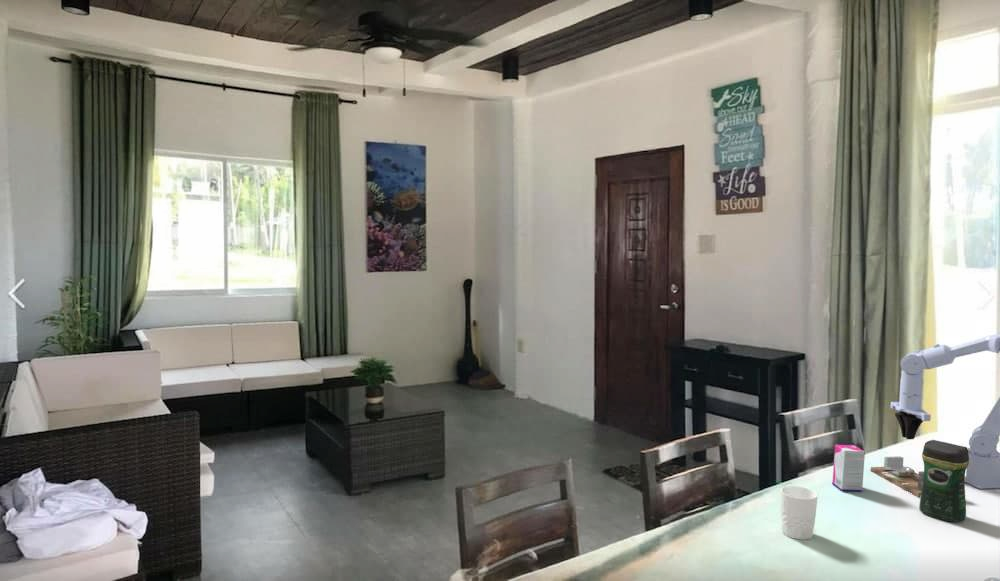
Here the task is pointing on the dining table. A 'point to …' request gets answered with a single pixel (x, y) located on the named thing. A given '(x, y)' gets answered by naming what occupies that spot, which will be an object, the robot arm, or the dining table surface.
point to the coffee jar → (944, 480)
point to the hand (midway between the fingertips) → (908, 438)
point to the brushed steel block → (897, 467)
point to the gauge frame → (903, 480)
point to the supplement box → (848, 468)
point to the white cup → (798, 512)
